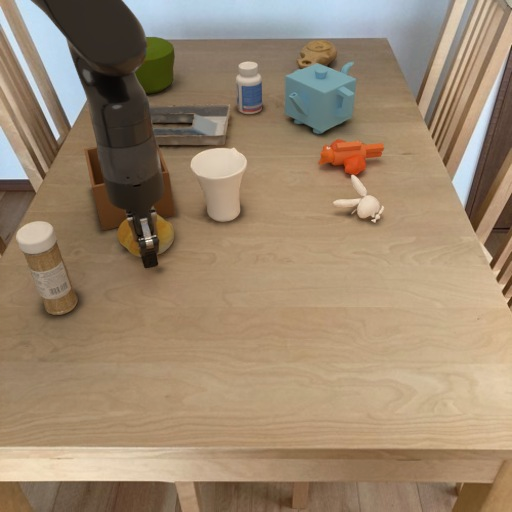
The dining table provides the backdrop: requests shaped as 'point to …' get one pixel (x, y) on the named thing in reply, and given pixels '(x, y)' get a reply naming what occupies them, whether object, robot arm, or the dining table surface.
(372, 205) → the rabbit figurine
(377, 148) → the orange toy bird
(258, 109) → the pill bottle
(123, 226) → the bread roll
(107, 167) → the robot arm
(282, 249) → the dining table surface
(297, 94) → the teapot
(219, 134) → the grey flat rectangular tray
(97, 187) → the box
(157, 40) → the green piece
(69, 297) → the sprinkles bottle
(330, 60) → the oil lamp
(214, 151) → the cup
